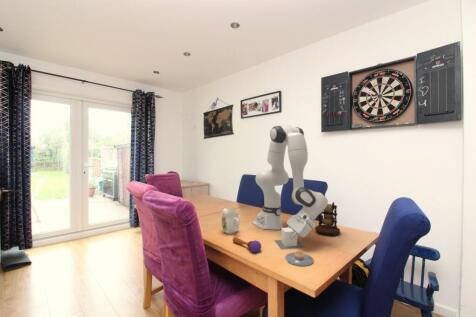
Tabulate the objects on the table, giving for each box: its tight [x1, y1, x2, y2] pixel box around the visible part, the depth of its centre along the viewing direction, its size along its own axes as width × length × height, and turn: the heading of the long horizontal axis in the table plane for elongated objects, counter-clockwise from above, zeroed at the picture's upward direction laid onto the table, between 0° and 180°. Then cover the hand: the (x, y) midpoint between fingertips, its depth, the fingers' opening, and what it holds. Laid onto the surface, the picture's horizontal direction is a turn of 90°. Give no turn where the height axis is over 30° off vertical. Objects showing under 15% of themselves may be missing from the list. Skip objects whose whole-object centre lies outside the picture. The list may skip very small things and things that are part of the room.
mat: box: [274, 239, 306, 250], centre depth 128 cm, size 13×13×1 cm
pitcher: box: [221, 208, 240, 235], centre depth 148 cm, size 11×18×14 cm, turn 33°
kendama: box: [232, 236, 262, 254], centre depth 124 cm, size 6×6×20 cm
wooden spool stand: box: [314, 201, 341, 237], centre depth 147 cm, size 15×15×20 cm
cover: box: [280, 227, 298, 247], centre depth 128 cm, size 7×7×8 cm
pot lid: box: [284, 251, 315, 267], centre depth 110 cm, size 13×13×3 cm
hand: (287, 236), depth 128 cm, fingers closed on cover, 7 cm apart
